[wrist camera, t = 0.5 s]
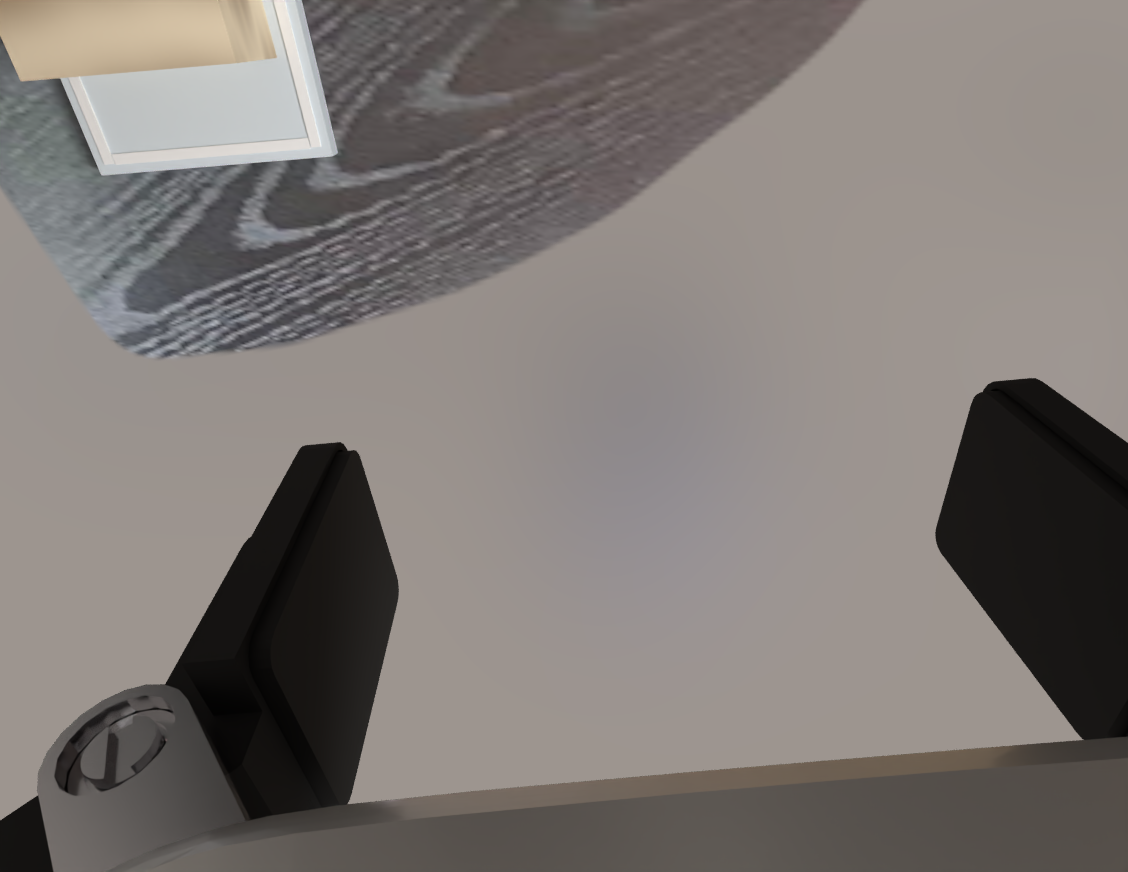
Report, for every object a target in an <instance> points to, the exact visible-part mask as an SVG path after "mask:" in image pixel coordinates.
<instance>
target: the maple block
mask: <svg viewBox="0 0 1128 872" xmlns="http://www.w3.org/2000/svg"><path fill="white" fill-rule="evenodd" d="M0 36H1V39H2V41H3V43H4V45H5V47H6V50H7V52H8V54H9V56H10V58H11V61H12V63H13V65H14V67H15V69H16V72H17V74H18V76H19V78H20V81H33V80H44V79H56V78H68V77H80V76H92V75H103V74H115V73H127V72H139V71H151V70H162V69H174V68H186V67H198V66H210V65H221V64H233V63H242V62H250V61H257V60H265V59H272V58H277V55H276V51H275V48H274V44H273V40H272V36H271V32H270V29H269V25H268V21H267V17H266V14H265V10H264V6H263V2H262V0H0Z"/></svg>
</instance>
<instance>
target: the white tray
mask: <svg viewBox="0 0 1128 872" xmlns="http://www.w3.org/2000/svg"><path fill="white" fill-rule="evenodd" d="M262 2H263V6H264V10H265V14H266V17H267V21H268V25H269V29H270V32H271V36H272V40H273V44H274V48H275V51H276V55H277V58H272V59H265V60H257V61H250V62H242V63H233V64H221V65H210V66H198V67H186V68H174V69H162V70H151V71H139V72H127V73H115V74H103V75H92V76H80V77H68V78H60V79H61V81H62V84H63V86H64V88H65V91H66V93H67V95H68V98H69V100H70V102H71V105H72V107H73V110H74V112H75V114H76V117H77V119H78V121H79V124H80V126H81V128H82V131H83V133H84V136H85V138H86V140H87V143H88V145H89V147H90V150H91V152H92V154H93V157H94V159H95V162H96V164H97V166H98V169H99V171H100V173H101V175H113V174H125V173H137V172H149V171H161V170H173V169H185V168H197V167H209V166H221V165H233V164H245V163H257V162H269V161H281V160H293V159H305V158H317V157H329V156H334V155H335V154H337V153H338V151H337V147H336V143H335V139H334V135H333V130H332V126H331V122H330V118H329V113H328V109H327V105H326V101H325V97H324V92H323V88H322V84H321V80H320V76H319V71H318V67H317V63H316V59H315V55H314V50H313V46H312V42H311V38H310V33H309V29H308V25H307V21H306V17H305V12H304V8H303V4H302V0H262Z"/></svg>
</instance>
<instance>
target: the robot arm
mask: <svg viewBox="0 0 1128 872" xmlns="http://www.w3.org/2000/svg"><path fill="white" fill-rule="evenodd" d="M935 533H936V542H937V545H938V548H939V550H940V552H941V554H942V555H943V556H944V557H945V559H946V560H947V562H948V563H949V564H950V565H951V567H952V568H953V570H954V571H955V572H956V573H957V575H958V576H959V577H960V579H961V580H962V581H963V583H964V584H965V585H966V587H967V588H968V589H969V591H970V592H971V593H972V595H973V596H974V597H975V599H976V600H977V601H978V603H979V604H980V605H981V607H982V608H983V609H984V610H985V611H986V613H987V615H988V616H989V617H990V618H991V620H992V621H993V622H994V624H995V625H996V626H997V628H998V629H999V630H1000V631H1001V633H1002V634H1003V636H1004V637H1005V638H1006V640H1007V641H1008V642H1009V644H1010V645H1011V646H1012V648H1013V649H1014V650H1015V651H1016V653H1017V654H1018V656H1019V657H1020V658H1021V659H1022V661H1023V662H1024V663H1025V664H1026V666H1027V667H1028V669H1029V670H1030V671H1031V672H1032V674H1033V675H1034V677H1035V678H1036V679H1037V680H1038V682H1039V683H1040V685H1041V686H1042V687H1043V689H1044V690H1045V691H1046V692H1047V694H1048V695H1049V697H1050V698H1051V699H1052V701H1053V702H1054V703H1055V704H1056V706H1057V707H1058V708H1059V710H1060V711H1061V712H1062V714H1063V715H1064V716H1065V718H1066V719H1067V720H1068V722H1069V723H1070V724H1071V725H1072V727H1073V728H1074V730H1075V731H1076V732H1077V733H1078V734H1079V736H1080V737H1081V738H1082V739H1084V740H1079V741H1066V742H1053V743H1040V744H1027V745H1014V746H1001V747H990V748H989V747H988V748H975V749H963V750H950V751H938V752H925V753H913V754H901V755H889V756H877V757H865V758H853V759H840V760H828V761H816V762H804V763H792V764H780V765H768V766H756V767H744V768H732V769H720V770H708V771H697V772H684V773H674V774H663V775H651V776H640V777H628V778H616V779H605V780H595V781H583V782H571V783H560V784H549V785H538V786H526V787H515V788H504V789H492V790H481V791H471V792H461V793H451V794H443V795H432V796H423V797H414V798H404V799H395V800H385V801H375V802H367V803H357V804H348V802H349V800H350V797H351V794H352V790H353V785H354V781H355V777H356V773H357V769H358V765H359V760H360V756H361V752H362V748H363V744H364V739H365V735H366V731H367V727H368V723H369V719H370V715H371V710H372V706H373V702H374V698H375V694H376V689H377V685H378V681H379V676H380V673H381V669H382V664H383V660H384V656H385V652H386V647H387V643H388V639H389V635H390V631H391V627H392V623H393V619H394V614H395V610H396V606H397V602H398V592H399V589H398V579H397V575H396V572H395V569H394V565H393V562H392V559H391V556H390V552H389V549H388V546H387V543H386V539H385V536H384V533H383V530H382V527H381V523H380V520H379V517H378V514H377V510H376V507H375V504H374V500H373V497H372V494H371V491H370V488H369V484H368V481H367V478H366V475H365V471H364V468H363V465H362V462H361V459H360V456H359V454H358V453H357V451H355V450H353V451H347V449H346V447H345V446H344V444H342V443H341V442H337V443H327V444H316V445H305V446H302V447H301V448H300V450H299V451H298V453H297V455H296V457H295V458H294V460H293V462H292V464H291V466H290V468H289V469H288V471H287V473H286V475H285V476H284V478H283V480H282V482H281V484H280V486H279V488H278V489H277V491H276V493H275V495H274V496H273V499H272V500H271V502H270V504H269V506H268V507H267V509H266V511H265V513H264V515H263V516H262V518H261V520H260V522H259V524H258V525H257V527H256V529H255V531H254V533H253V534H252V536H251V537H250V538H248V540H247V541H246V542H245V543H244V545H243V546H242V548H241V550H240V551H239V553H238V555H237V557H236V559H235V560H234V562H233V564H232V566H231V568H230V570H229V571H228V573H227V575H226V577H225V578H224V580H223V582H222V584H221V585H220V587H219V589H218V591H217V593H216V594H215V596H214V598H213V600H212V602H211V603H210V605H209V607H208V609H207V611H206V613H205V614H204V616H203V618H202V619H201V621H200V623H199V625H198V627H197V628H196V630H195V632H194V634H193V636H192V637H191V639H190V641H189V643H188V644H187V646H186V648H185V650H184V652H183V654H182V655H181V657H180V659H179V661H178V663H177V664H176V666H175V668H174V670H173V671H172V673H171V675H170V677H169V679H168V680H167V682H166V684H165V685H162V684H160V685H143V686H139V687H135V688H131V689H127V690H124V691H122V692H120V693H118V694H115V695H113V696H111V697H109V698H107V699H105V700H103V701H101V702H100V703H98V704H97V705H95V706H94V707H93V708H91V709H89V710H88V711H86V712H85V713H83V714H82V715H80V716H79V717H78V718H77V719H76V720H75V721H74V722H73V723H72V724H71V725H70V726H69V727H68V728H66V729H65V730H64V731H63V732H62V733H61V734H60V736H59V737H58V739H57V740H56V741H55V742H54V744H53V745H52V747H51V748H50V749H49V750H48V752H47V754H46V756H45V758H44V760H43V763H42V765H41V767H40V769H39V772H38V786H37V792H38V796H36V797H35V798H33V799H32V800H30V801H29V802H27V803H26V804H24V805H23V806H21V807H20V808H18V809H17V810H15V811H14V812H12V813H11V814H9V815H8V816H6V817H5V818H3V819H2V820H0V872H1128V443H1127V442H1126V441H1124V440H1123V439H1122V438H1120V437H1119V436H1117V435H1116V434H1114V433H1113V432H1112V431H1110V430H1109V429H1108V428H1106V427H1105V426H1103V425H1102V424H1101V423H1099V422H1098V421H1096V420H1095V419H1093V418H1092V417H1091V416H1089V415H1088V414H1087V413H1085V412H1084V411H1083V410H1081V409H1080V408H1078V407H1077V406H1076V405H1074V404H1073V403H1071V402H1070V401H1069V400H1067V399H1066V398H1064V397H1063V396H1062V395H1060V394H1059V393H1057V392H1056V391H1055V390H1053V389H1052V388H1050V387H1049V386H1048V385H1046V384H1045V383H1043V382H1042V381H1040V380H1038V379H1036V378H1028V379H1017V380H1006V381H996V382H992V383H990V384H988V385H987V386H986V388H985V389H984V390H983V392H981V393H979V394H977V395H976V396H975V397H974V399H973V401H972V404H971V407H970V411H969V414H968V418H967V421H966V425H965V428H964V432H963V435H962V439H961V442H960V446H959V449H958V453H957V457H956V460H955V463H954V467H953V471H952V474H951V478H950V481H949V485H948V488H947V491H946V495H945V499H944V502H943V506H942V509H941V513H940V516H939V520H938V523H937V527H936V532H935Z"/></svg>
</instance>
